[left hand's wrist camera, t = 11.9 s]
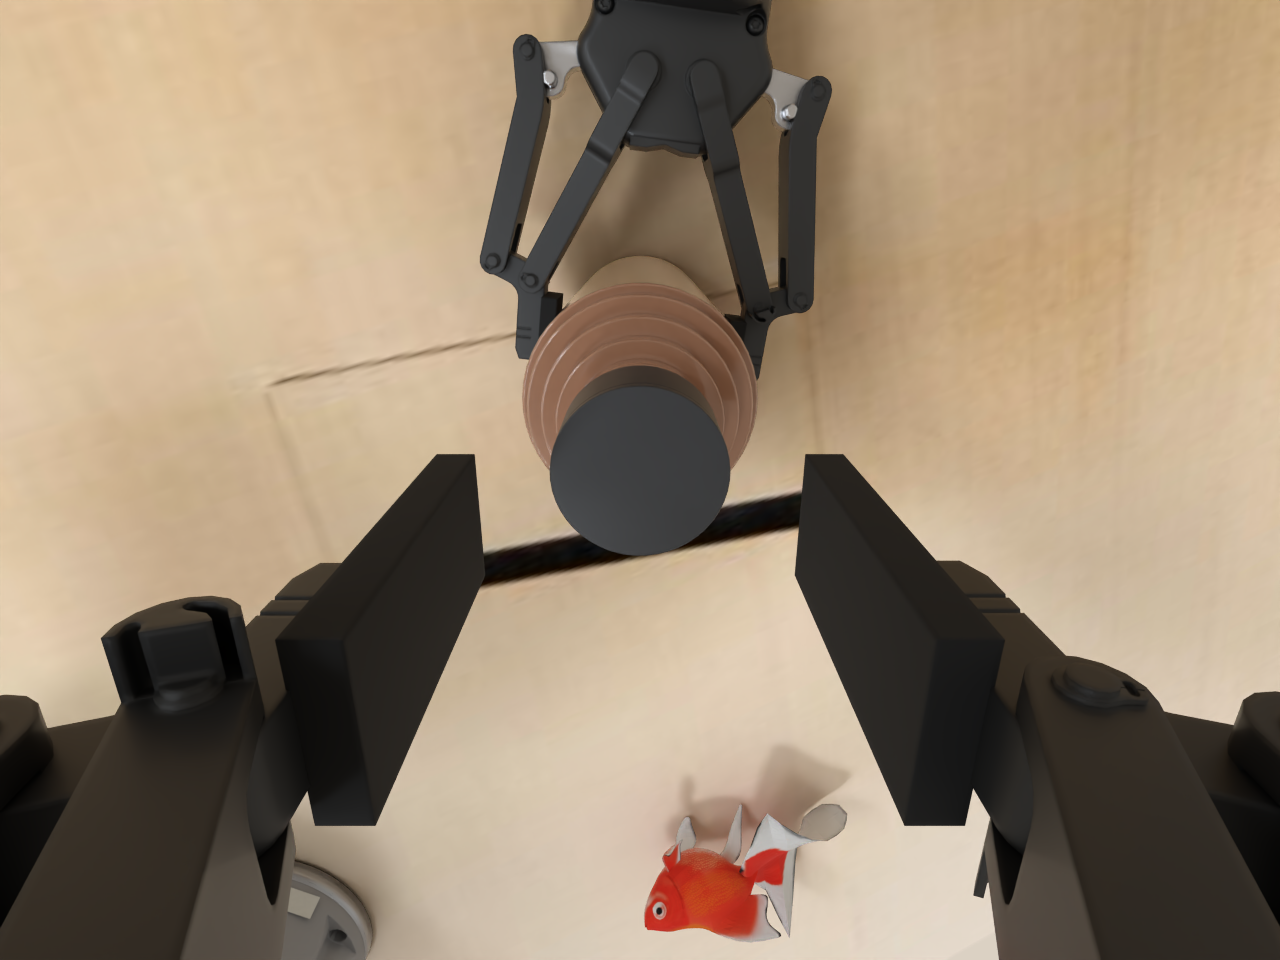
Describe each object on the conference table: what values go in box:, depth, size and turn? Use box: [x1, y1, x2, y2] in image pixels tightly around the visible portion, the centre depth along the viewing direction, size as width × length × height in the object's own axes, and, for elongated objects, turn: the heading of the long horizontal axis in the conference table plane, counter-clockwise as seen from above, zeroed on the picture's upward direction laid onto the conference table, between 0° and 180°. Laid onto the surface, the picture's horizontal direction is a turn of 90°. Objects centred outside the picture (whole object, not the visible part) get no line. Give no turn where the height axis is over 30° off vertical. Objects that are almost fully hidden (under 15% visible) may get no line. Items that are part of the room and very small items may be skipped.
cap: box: [550, 365, 730, 555], centre depth 18 cm, size 4×4×2 cm
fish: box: [645, 804, 847, 942], centre depth 49 cm, size 11×16×10 cm
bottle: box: [522, 256, 758, 471], centre depth 28 cm, size 8×8×25 cm
